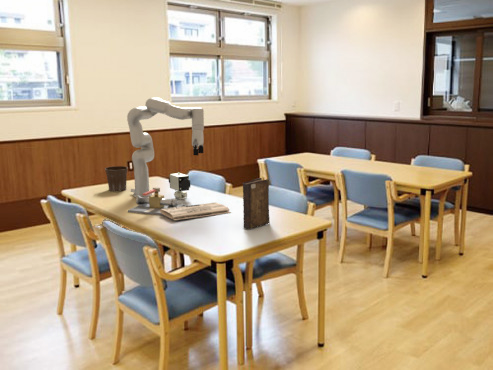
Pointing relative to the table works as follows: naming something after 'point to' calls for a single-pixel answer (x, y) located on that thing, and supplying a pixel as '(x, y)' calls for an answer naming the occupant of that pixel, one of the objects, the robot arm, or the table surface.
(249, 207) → the book
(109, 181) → the plant pot
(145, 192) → the lever
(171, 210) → the newspaper
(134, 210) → the board
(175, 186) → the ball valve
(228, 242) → the table surface
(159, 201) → the valve body
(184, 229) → the table surface
